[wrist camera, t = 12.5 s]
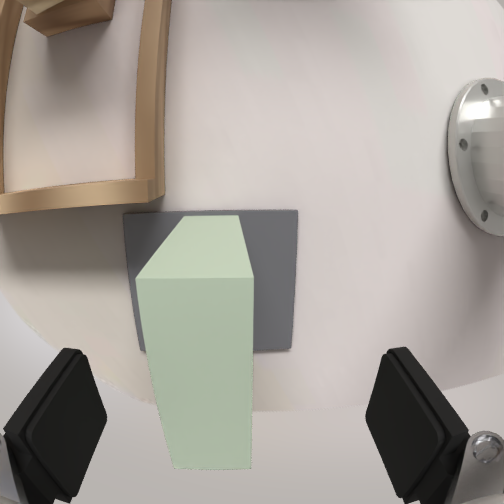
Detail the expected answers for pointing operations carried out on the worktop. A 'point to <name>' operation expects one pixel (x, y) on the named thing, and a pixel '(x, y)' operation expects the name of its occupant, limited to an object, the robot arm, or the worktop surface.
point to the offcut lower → (70, 15)
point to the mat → (260, 255)
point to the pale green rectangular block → (201, 341)
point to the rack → (146, 122)
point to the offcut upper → (39, 4)
